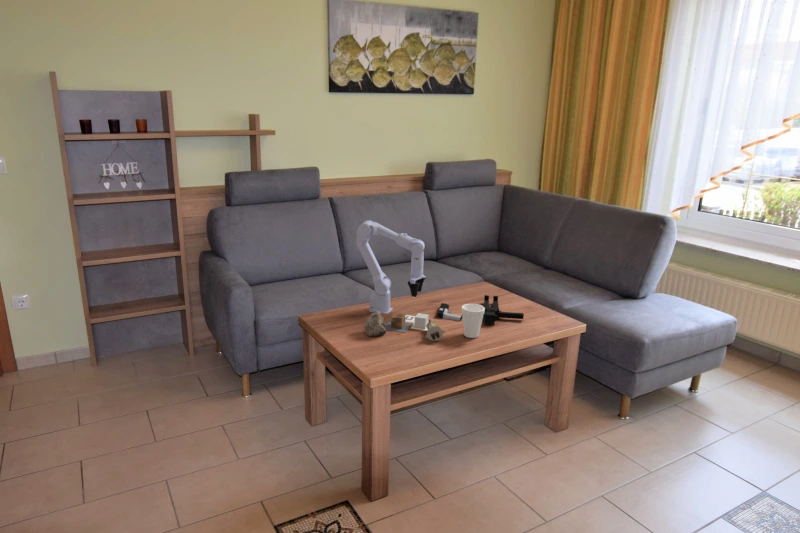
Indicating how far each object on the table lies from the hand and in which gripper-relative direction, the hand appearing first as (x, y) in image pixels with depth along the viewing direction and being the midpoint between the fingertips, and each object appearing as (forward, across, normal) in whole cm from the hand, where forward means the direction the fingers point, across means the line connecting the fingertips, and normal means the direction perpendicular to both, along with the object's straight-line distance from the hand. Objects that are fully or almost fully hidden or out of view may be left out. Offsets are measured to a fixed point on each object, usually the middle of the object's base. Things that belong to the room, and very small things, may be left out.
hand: (416, 293), depth 264 cm
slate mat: (+10, -19, +3) cm, 22 cm away
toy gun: (+11, +5, -16) cm, 20 cm away
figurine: (+10, -23, -15) cm, 29 cm away
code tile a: (+10, -8, +1) cm, 13 cm away
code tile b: (+10, -15, -7) cm, 19 cm away
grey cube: (+10, -15, -7) cm, 19 cm away
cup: (+10, -17, -30) cm, 36 cm away
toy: (+10, +13, -34) cm, 38 cm away
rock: (+10, -30, +10) cm, 33 cm away
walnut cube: (+10, -19, +3) cm, 21 cm away
